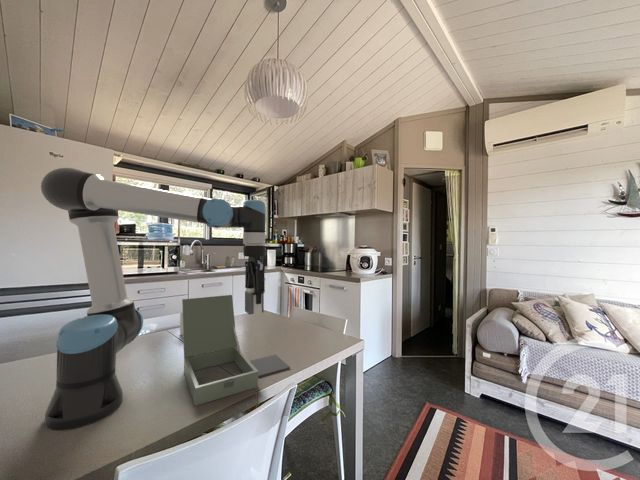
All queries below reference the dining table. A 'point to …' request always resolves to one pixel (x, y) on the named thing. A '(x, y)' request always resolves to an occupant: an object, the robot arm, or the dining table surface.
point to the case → (213, 347)
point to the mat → (269, 365)
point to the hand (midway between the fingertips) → (254, 310)
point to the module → (251, 301)
